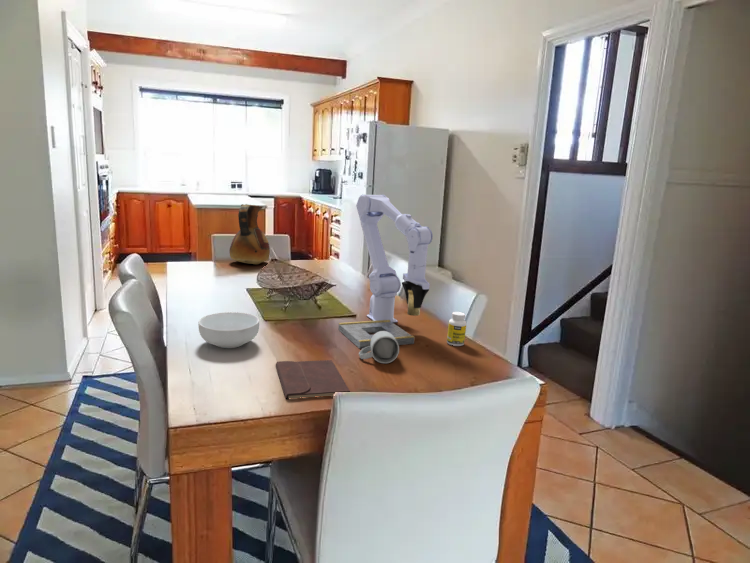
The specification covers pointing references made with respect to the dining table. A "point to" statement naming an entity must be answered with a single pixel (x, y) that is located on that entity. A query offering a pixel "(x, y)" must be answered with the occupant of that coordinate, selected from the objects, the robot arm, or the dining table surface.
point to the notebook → (310, 378)
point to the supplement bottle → (456, 329)
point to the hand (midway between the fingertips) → (413, 305)
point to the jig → (362, 339)
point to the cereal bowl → (228, 329)
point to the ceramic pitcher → (249, 238)
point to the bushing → (412, 305)
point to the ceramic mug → (381, 348)
